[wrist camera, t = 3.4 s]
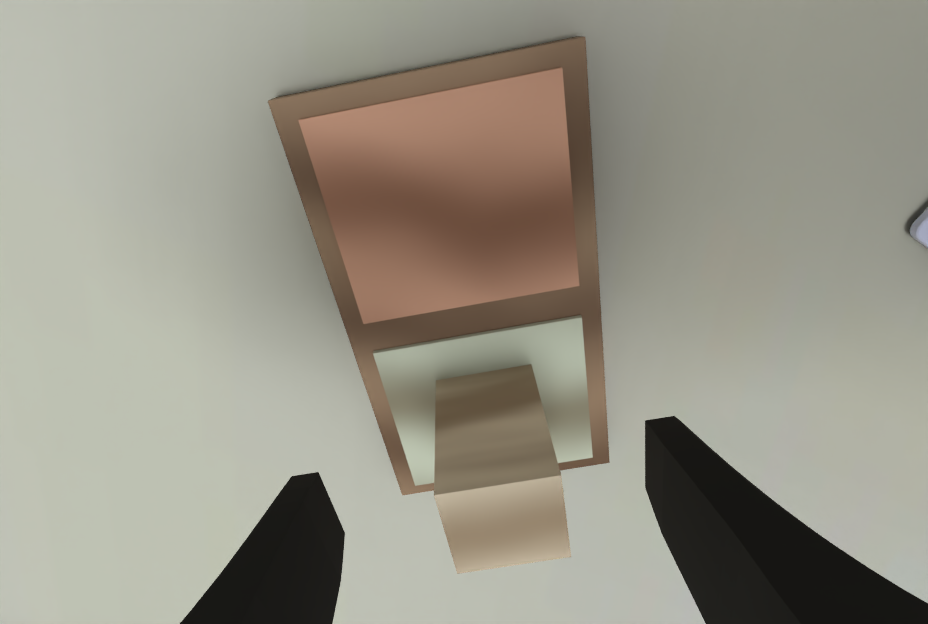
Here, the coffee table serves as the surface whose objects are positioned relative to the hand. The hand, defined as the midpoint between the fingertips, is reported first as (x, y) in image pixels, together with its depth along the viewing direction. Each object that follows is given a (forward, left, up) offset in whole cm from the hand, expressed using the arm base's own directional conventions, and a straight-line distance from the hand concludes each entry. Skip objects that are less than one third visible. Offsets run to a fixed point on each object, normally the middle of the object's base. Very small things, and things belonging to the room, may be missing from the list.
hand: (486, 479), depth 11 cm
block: (+4, +4, -9) cm, 11 cm away
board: (+1, +1, -10) cm, 10 cm away
